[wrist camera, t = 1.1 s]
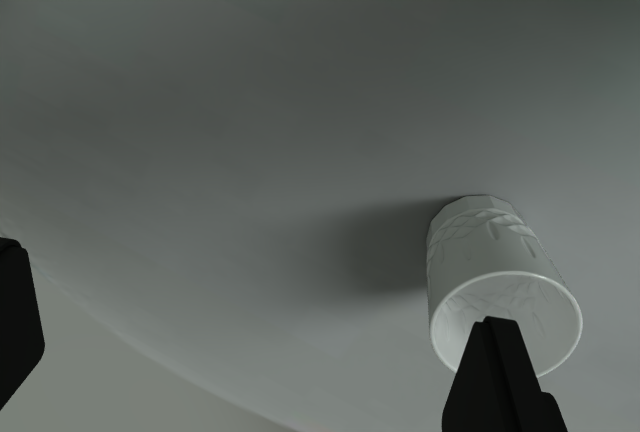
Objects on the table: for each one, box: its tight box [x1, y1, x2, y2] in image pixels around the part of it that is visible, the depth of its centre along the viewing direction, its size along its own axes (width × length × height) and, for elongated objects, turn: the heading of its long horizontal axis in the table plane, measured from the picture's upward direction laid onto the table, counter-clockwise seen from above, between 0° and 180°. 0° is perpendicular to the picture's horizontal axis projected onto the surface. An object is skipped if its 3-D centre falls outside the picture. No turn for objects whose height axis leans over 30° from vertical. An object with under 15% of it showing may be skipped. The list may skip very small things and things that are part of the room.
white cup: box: [426, 195, 582, 378], centre depth 32 cm, size 8×8×10 cm
